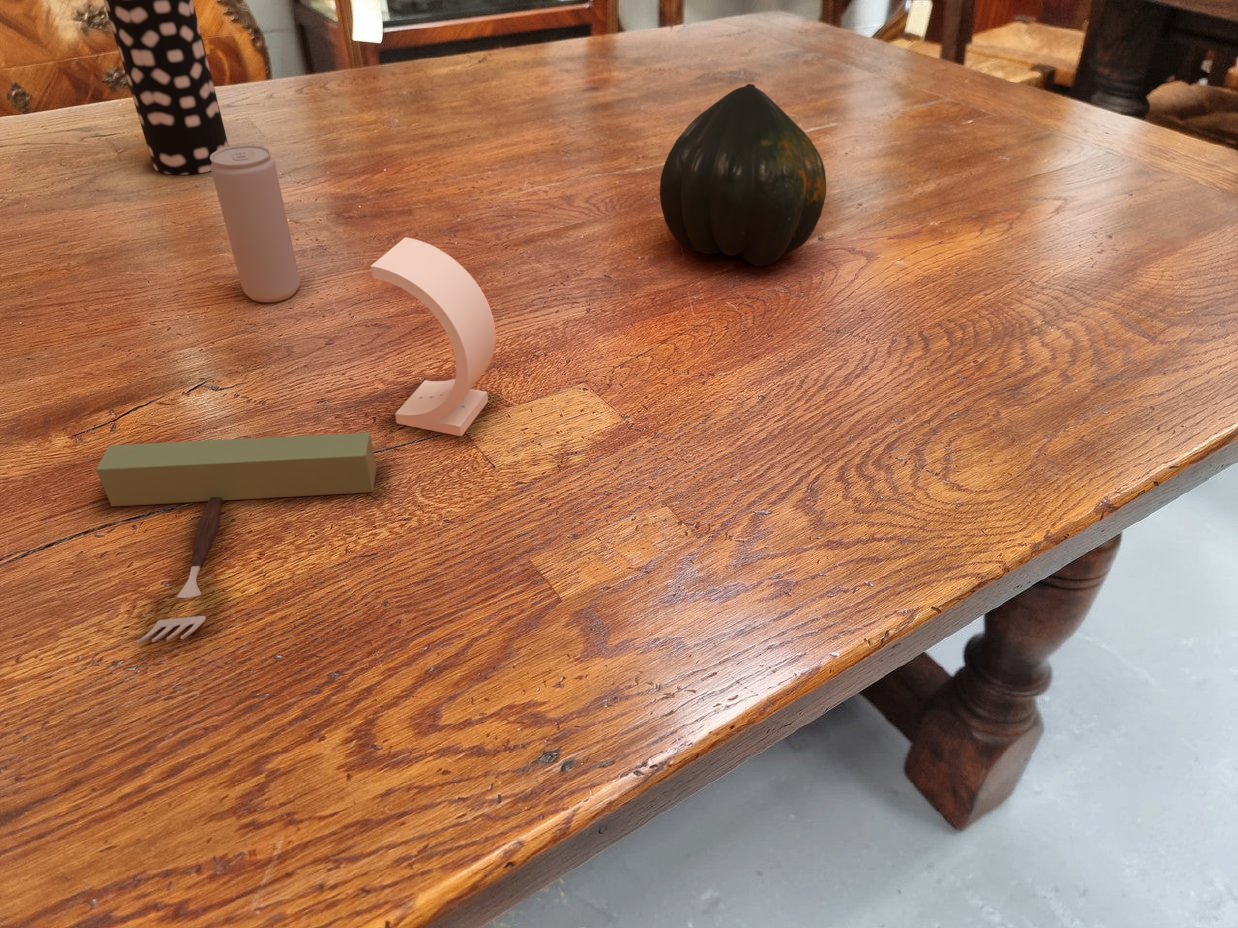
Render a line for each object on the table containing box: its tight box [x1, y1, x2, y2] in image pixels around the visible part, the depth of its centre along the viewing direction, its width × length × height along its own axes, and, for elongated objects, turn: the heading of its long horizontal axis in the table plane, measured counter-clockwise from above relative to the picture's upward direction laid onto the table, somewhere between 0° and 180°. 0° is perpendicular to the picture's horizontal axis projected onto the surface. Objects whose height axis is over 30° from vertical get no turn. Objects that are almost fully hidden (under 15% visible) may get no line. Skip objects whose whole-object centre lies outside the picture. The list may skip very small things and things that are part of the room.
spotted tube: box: [102, 0, 230, 176], centre depth 99 cm, size 8×8×20 cm
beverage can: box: [210, 144, 301, 303], centre depth 76 cm, size 5×5×12 cm
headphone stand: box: [370, 236, 497, 437], centre depth 62 cm, size 5×6×12 cm
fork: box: [136, 497, 223, 645], centre depth 54 cm, size 3×16×2 cm, turn 8°
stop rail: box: [95, 432, 378, 507], centre depth 58 cm, size 16×2×3 cm, turn 96°
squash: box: [659, 83, 827, 267], centre depth 85 cm, size 14×15×15 cm
